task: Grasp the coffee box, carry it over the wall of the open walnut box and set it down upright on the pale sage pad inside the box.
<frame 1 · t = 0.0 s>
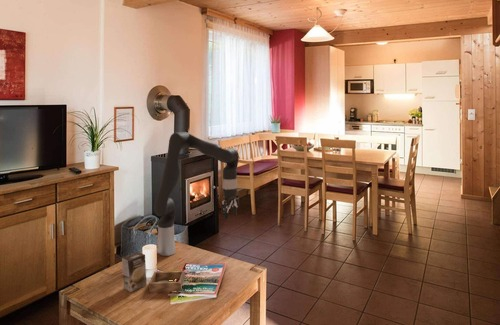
hand: (230, 216, 193), 29 cm above the table, fingers open, 8 cm apart
coffee box: (135, 287, 181), on the table
walnut box: (167, 286, 180), on the table
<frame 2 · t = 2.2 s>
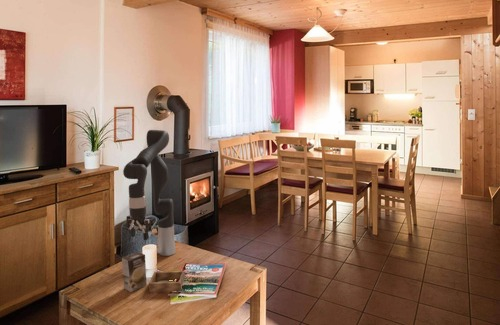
hand: (139, 238, 177), 25 cm above the table, fingers open, 8 cm apart
nothing on the table moved.
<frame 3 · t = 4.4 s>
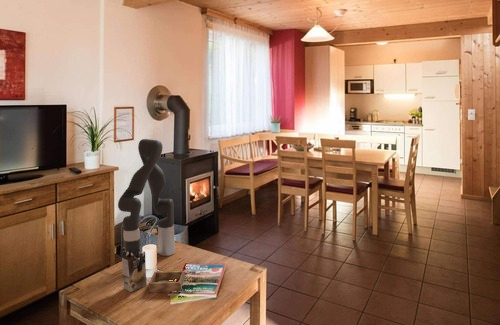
hand: (134, 269, 179), 9 cm above the table, fingers closed on coffee box, 7 cm apart
coffee box: (135, 287, 181), on the table, touching gripper
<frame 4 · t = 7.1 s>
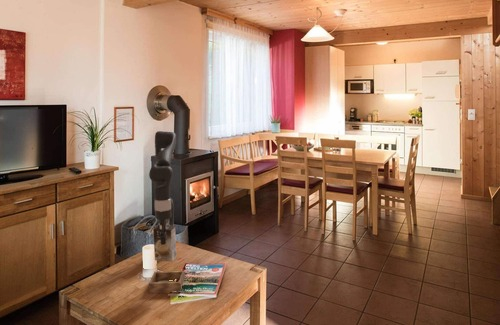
hand: (164, 241, 176), 24 cm above the table, fingers closed on coffee box, 7 cm apart
coffee box: (165, 258, 178), point 14 cm above the table, touching gripper
when the fingers open (11 cm above the table, at t = 10.0 s): coffee box stays where it is, resting on walnut box.
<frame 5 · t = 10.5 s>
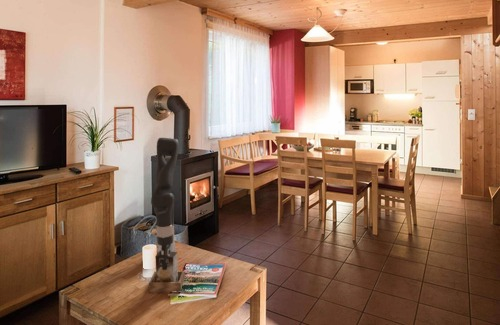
hand: (166, 265, 178), 11 cm above the table, fingers open, 8 cm apart
coffee box: (167, 284, 180), point 1 cm above the table, touching walnut box
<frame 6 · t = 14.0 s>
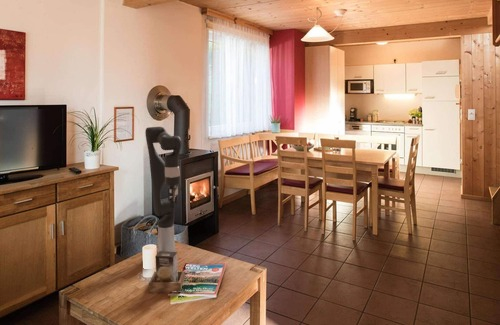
hand: (173, 205, 191), 36 cm above the table, fingers open, 8 cm apart
nothing on the table moved.
at the end: coffee box 0.2 cm from the walnut box (horizontally); coffee box tilted 0°; the gripper is holding nothing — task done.
